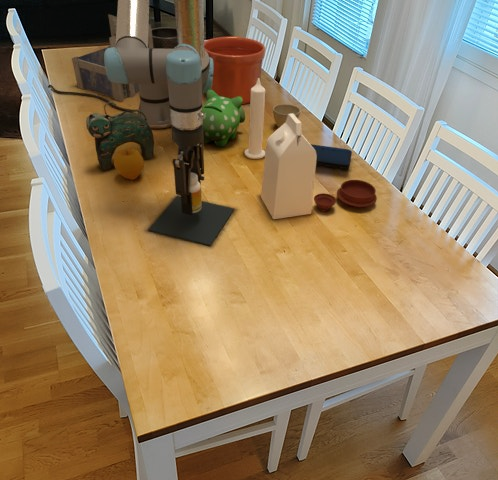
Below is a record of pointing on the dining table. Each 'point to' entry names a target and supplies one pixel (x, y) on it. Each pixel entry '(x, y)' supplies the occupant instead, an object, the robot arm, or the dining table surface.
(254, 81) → the pot
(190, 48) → the robot arm
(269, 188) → the milk
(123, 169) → the apple
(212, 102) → the piggy bank
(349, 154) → the game console
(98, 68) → the building
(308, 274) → the dining table surface
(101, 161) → the ceramic cat
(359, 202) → the pottery
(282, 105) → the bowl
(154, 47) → the planter
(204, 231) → the mat
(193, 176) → the supplement bottle
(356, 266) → the dining table surface
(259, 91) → the candle
